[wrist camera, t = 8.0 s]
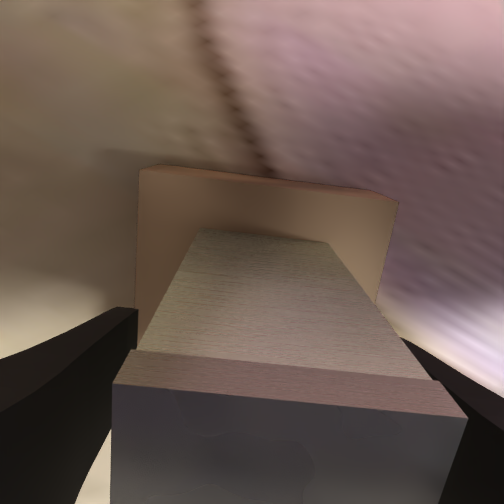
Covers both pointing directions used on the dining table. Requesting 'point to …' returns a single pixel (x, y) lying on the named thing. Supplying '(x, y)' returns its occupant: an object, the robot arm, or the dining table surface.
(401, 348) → the tea tin
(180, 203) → the tan flat square block
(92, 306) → the dining table surface
